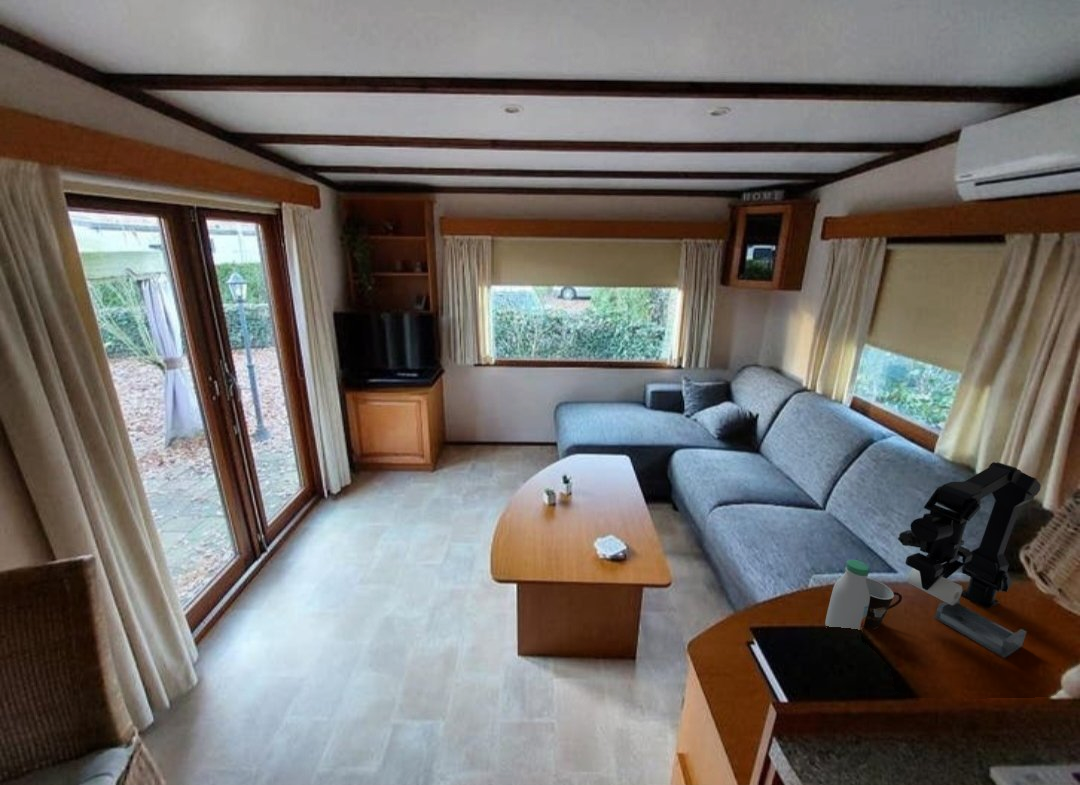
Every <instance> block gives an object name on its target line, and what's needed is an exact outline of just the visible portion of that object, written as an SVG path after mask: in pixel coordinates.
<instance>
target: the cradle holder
mask: <svg viewBox="0 0 1080 785" xmlns="http://www.w3.org/2000/svg"><path fill="white" fill-rule="evenodd" d="M960 600H961V596H960V598H959V600H958V601H957V602H956V603H955V604H954V605H950V604H948V603H946V602H944V601H942V602H940V603H938V605H937V608H936V612H935V615H934V619H936V621H939V622H940V623H942V624H943V625H946V626H947V625H948V627H949V628H951V629H952V630H955V631H956V632H958V633H960V634H961V635H963V636H965V637H966V638H968V639H970V640H972V641H973V642H975V643H977V644H979V645H980V646H982V647H984V648H986V649H987V650H990V651H991V652H993V653H995V654H996V655H998V656H1000V657H1002V658H1004V659H1005V658H1007V657H1008V656H1010V655H1012V654H1013V653H1015V652H1016V651H1018V650H1019V649H1020V648H1022V647H1023V644H1024V641H1025V639H1026V635H1027V632H1028V631H1026V630H1024V629H1022V628H1020V629H1018V631H1015V632H1013V631H1011V630H1010V629H1007V628H1006V627H1004V626H1002V625H1000V624H998V623H996V622H995V621H992V620H990V619H989V618H987V617H985V616H983V615H981V614H979V613H977V612H975V611H974V610H972V609H969V608H968V607H966V606H963V605H962V604H961V603H960Z"/></svg>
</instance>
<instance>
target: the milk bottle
mask: <svg viewBox="0 0 1080 785" xmlns="http://www.w3.org/2000/svg"><path fill="white" fill-rule="evenodd" d="M869 573H870V567H869V566H868V565H867V564H866V563H865V562H862V561H860V560H858V559H848V560H847V561H846V564H845V572H844V573H843V575H842V576H841V577H839V578H838V579H837V581H836V582H835V584H834V585H833V588H832V592H831V596H830V599H829V600H830V601H829V604H828V608H827V613H826V618H825V622H824V623H825V627H826V626H829V627H841V628H851V629H858V630H861V631H862V632H863V631H864V627H865V626H864V623H865V619H866V615H867V611H868V607H869V602H870V594H869V590H868V587H867V583H866V577H867V578H869Z"/></svg>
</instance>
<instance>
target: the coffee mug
mask: <svg viewBox="0 0 1080 785" xmlns="http://www.w3.org/2000/svg"><path fill="white" fill-rule="evenodd" d="M866 583H867V587H868V590H869V594H870V602H869V607H868V611H867V615H866V619H865V623H864V627H865V628H868V627H869V628H868V629H873V628H876V627H879V626H881V624H882V622H883V620H884V618H885V616H886V614H887V612H888V610H890V609H892V608H895V607H896V606H898V605H899V604H900V603H901V602H902V599H903V596H902V595H901V594H900V593H899V592H897V591H893V590H892V589H891V588H890V587H889V586H887V585H886V584H885V583H883V582H882V581H881V582H880V581H878V580H876V579H874V578H870V577H866ZM895 596H898V599H897V600H896V601H895V602H894V603H893V604H891V603H892V601H893V599H894V597H895ZM879 628H880V627H879ZM876 629H877V628H876Z"/></svg>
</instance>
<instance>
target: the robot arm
mask: <svg viewBox="0 0 1080 785" xmlns="http://www.w3.org/2000/svg"><path fill="white" fill-rule="evenodd" d="M1041 487H1042V485H1041V483H1040V482H1039V481H1038V480H1037V478H1036V477H1034V476H1031V475H1029V474H1026V473H1025V472H1023V471H1022V470H1021V469H1018V468H1017V467H1016V466H1011V465H1009V464H1005V463H1002V462H994V461H993V462H992V463H989V465H988V467H987V468H985V469H983V470H982V471H980V472H978V473H976V474H975V475H972V477H971V476H970V477H969V478H968V479H966V480H964V481H950V482H947V483H944V484H942V485H940V486H938V487H937V488H936V489H935V491H934V492H933V493H932V495H931V496H930V498H929V499H928V500H927V502H926V503H925V505H923V509H924V510H928V511H930V512H929V513H924V514H923V516H922V517H919V518H915V519H914V520H913V521H911V522H910V530H909V529H907V530H905V531H902V532H900V534H898V535H899V536H898V537H897V540H898V541H899V542H900V544H901V545H902V546H906V547H908V546H909V547H913V548H919V552H917V553H913V554H911V555H907V556H906V559H905V564H906V566H908V567H910V568H911V569H913V568H914V569H916V570H918V571H919V572H920V577H921V583H922V588H923V589H925V590H928V589H929V588H931V587H932V586H933V585H934V584H935V583H936V582H937V581H938V580H939V579H940V578H941V577H944V578H946V579H948V578H949V577H951V576H952V575H953V574H954V573H956V572H957V571H959V570H960V569H962V570H961V573H962V574H964V575H966V576H968V577H970V578H969V580H968V584H967V587H966V589H964V590H962V594H961V596H962V597H964V598H965V599H968V600H969V601H972V602H974V603H975V604H978V605H979V606H981V607H983V608H985V609H988V610H989V609H991V608H993V607H995V606H996V605H998V604H999V603H1000V601H999V600H998V599H995V598H996V596H997V592H1005V593H1007V592H1008V593H1009V588H1010V587H1011V584H1012V582H1013V581H1012V579H1011V577H1010V574H1009V573H1008V569H1009V566H1010V564H1009V562H1008V560H1007V557H1006V555H1005V550H1006V548H1007V545H1008V542H1009V541H1010V540H1009V539H1010V537H1011V535H1012V530H1013V529H1014V526H1015V522H1016V520H1017V517H1018V514H1019V513H1020V509H1021V508H1022V506H1023V505H1025V504H1027V503H1029V502H1031V501H1032V500H1034V498H1035V496H1037V495H1038V494H1039V493H1040V490H1041ZM991 494H992V497H993V498H994V504H993V507H992V509H991V512H990V516H989V518H988V522H987V523H986V526H985V530H984V533H983V535H982V538H981V542H980V544H979V547H977V548H975V549H973V550H971V551H970V549H968V548H965V547H963V546H964V544H965V540H963V535H964V533H965V530H966V526H967V523H968V522H969V521H971V520H972V518H973V517H974V516H976V514H977V513H978V512H979V511H980V509H981V506H982V505H981V503H982V502H981V501H982V500H983V499H984V498H986V497H987V496H989V495H991ZM937 504H938V505H937ZM920 551H921V552H922V553H925V554H926V555H925V554H922V553H921V552H920ZM960 558H961V561H962V562H961V561H959V560H960Z"/></svg>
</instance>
